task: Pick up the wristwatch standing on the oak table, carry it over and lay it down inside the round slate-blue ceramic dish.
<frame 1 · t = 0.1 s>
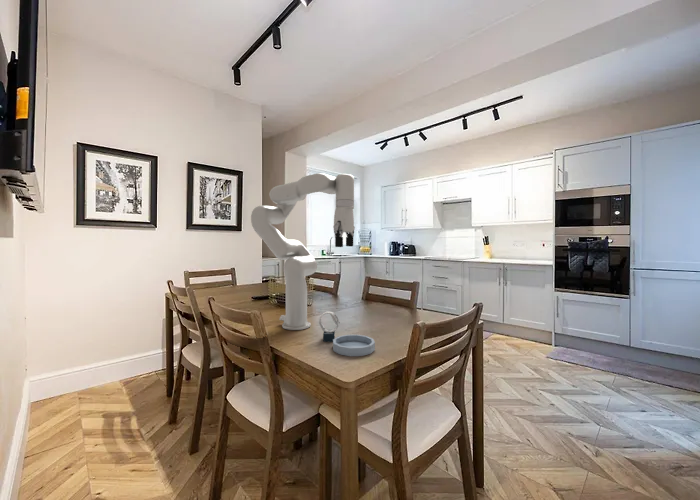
hand: (344, 246, 135), 37 cm above the table, tool pointing down, fingers open, 9 cm apart
watch: (329, 339, 129), on the table
dish: (353, 348, 119), on the table
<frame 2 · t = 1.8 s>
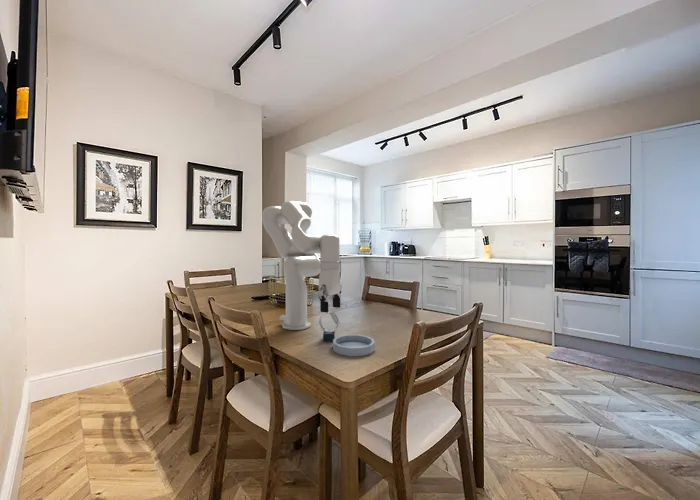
hand: (330, 309, 128), 12 cm above the table, tool pointing down, fingers open, 9 cm apart
nothing on the table moved.
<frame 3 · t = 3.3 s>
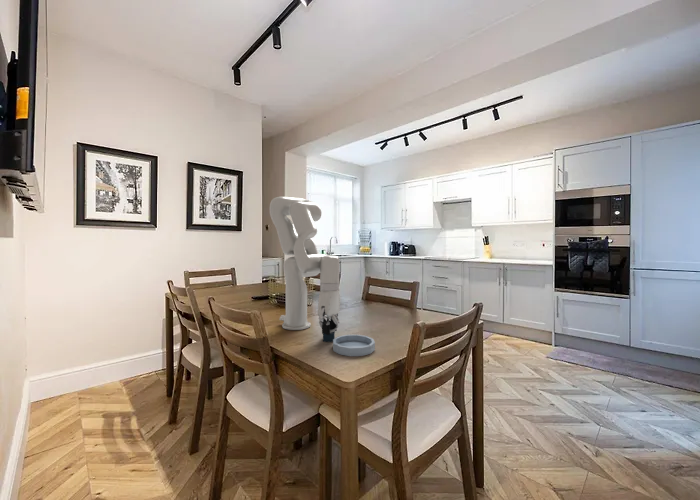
hand: (329, 332, 129), 3 cm above the table, tool pointing down, fingers open, 4 cm apart
watch: (329, 339, 129), on the table, touching gripper
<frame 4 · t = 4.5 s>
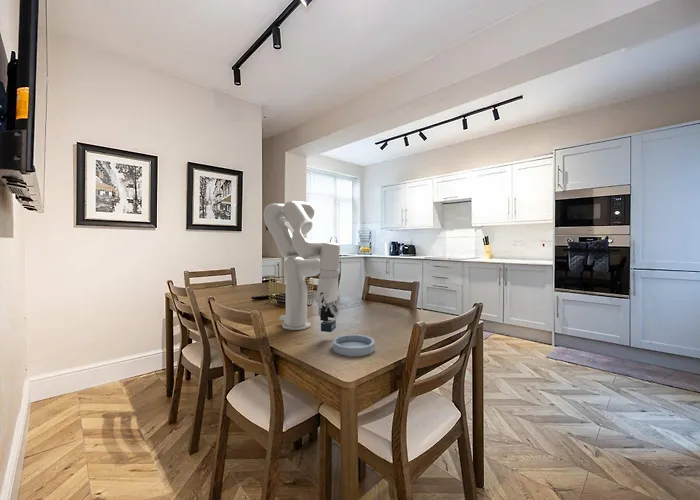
hand: (327, 318, 130), 8 cm above the table, tool pointing down, fingers closed on watch, 4 cm apart
watch: (328, 329, 130), point 4 cm above the table, touching gripper
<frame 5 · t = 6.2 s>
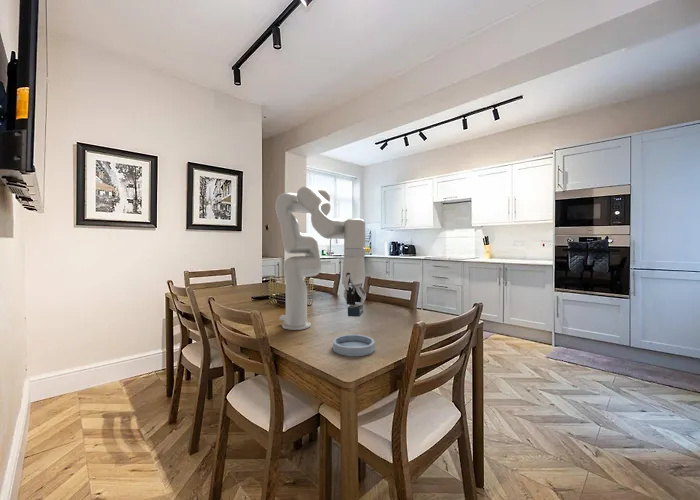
hand: (353, 302, 118), 17 cm above the table, tool pointing down, fingers closed on watch, 4 cm apart
watch: (356, 314, 118), point 12 cm above the table, touching gripper
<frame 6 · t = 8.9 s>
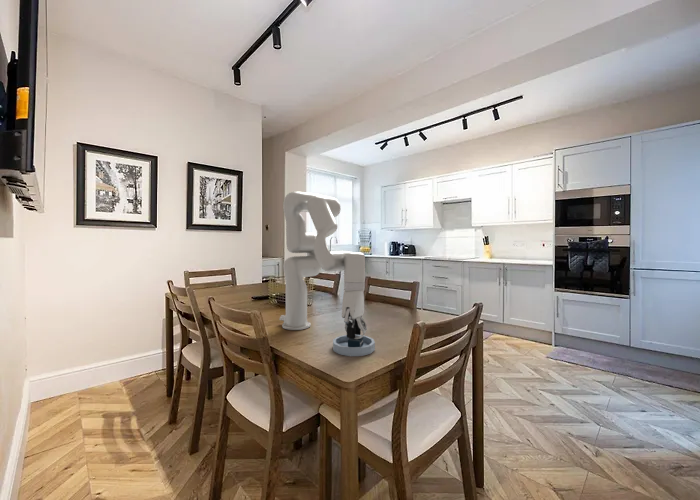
hand: (353, 335, 119), 5 cm above the table, tool pointing down, fingers closed on watch, 3 cm apart
watch: (355, 346, 119), point 1 cm above the table, touching dish, gripper
when the fingers open (5 cm above the table, at t = 9.1 s): watch stays where it is, resting on dish.
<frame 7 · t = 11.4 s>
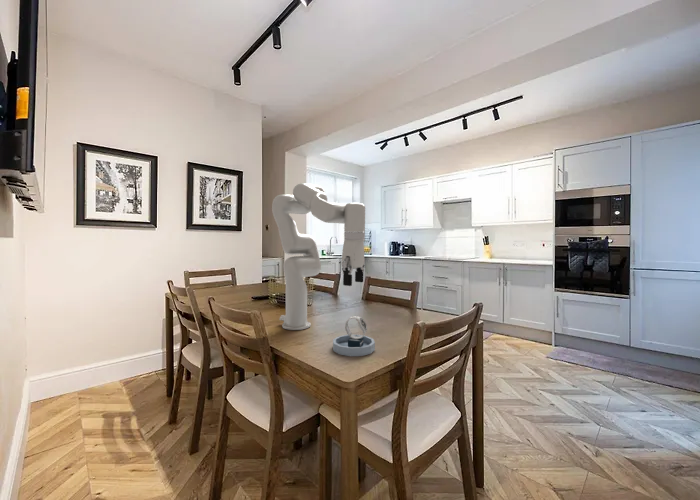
hand: (353, 283, 120), 24 cm above the table, tool pointing down, fingers open, 9 cm apart
watch: (356, 347, 119), point 1 cm above the table, touching dish
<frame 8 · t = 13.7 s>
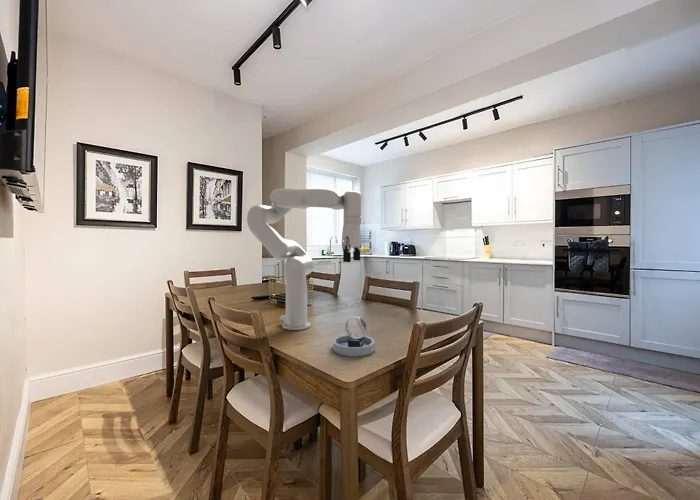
hand: (351, 261, 139), 30 cm above the table, tool pointing down, fingers open, 9 cm apart
nothing on the table moved.
at the end: watch 0.9 cm from the dish (horizontally); watch touching dish; the gripper is holding nothing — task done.
